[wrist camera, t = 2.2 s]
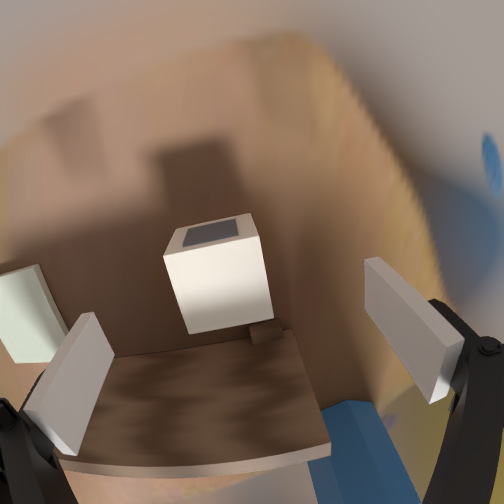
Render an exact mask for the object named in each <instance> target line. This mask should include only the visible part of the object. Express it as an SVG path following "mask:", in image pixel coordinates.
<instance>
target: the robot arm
mask: <svg viewBox="0 0 504 504" xmlns="http://www.w3.org/2000/svg"><path fill="white" fill-rule="evenodd" d="M364 273H365V310H366V312H367V313H368V315H369V316H370V317H371V319H372V320H373V322H374V323H375V324H376V326H377V327H378V329H379V330H380V331H381V333H382V334H383V336H384V337H385V339H386V340H387V341H388V343H389V344H390V346H391V347H392V349H393V350H394V352H395V353H396V355H397V356H398V357H399V359H400V360H401V362H402V363H403V365H404V366H405V368H406V369H407V371H408V372H409V374H410V375H411V377H412V378H413V380H414V381H415V383H416V384H417V386H418V387H419V389H420V390H421V392H422V394H423V395H424V397H425V398H426V400H427V401H428V403H429V404H430V403H432V402H435V401H437V400H439V399H441V398H443V397H445V396H446V395H447V392H448V389H449V387H450V386H451V387H452V388H453V390H454V391H455V394H454V396H453V399H452V401H451V403H450V406H449V408H448V410H450V414H449V419H448V423H447V428H446V431H445V435H444V439H443V443H442V446H441V450H440V454H439V457H438V460H437V463H436V466H435V469H434V472H433V475H432V478H431V481H430V484H429V486H428V489H427V492H426V494H425V497H424V499H423V502H422V504H489V503H490V498H491V495H492V491H493V486H494V481H495V477H496V472H497V466H498V461H499V455H500V448H501V440H502V432H503V427H504V344H501V342H500V341H498V340H497V339H495V338H493V337H489V336H483V337H479V336H478V335H477V334H476V333H475V332H474V331H473V330H472V329H471V328H470V327H469V326H468V325H467V324H466V323H465V322H464V321H463V320H462V319H461V318H459V317H458V315H457V314H456V313H455V312H453V310H451V309H450V308H449V307H448V306H447V305H446V304H445V303H443V302H441V301H439V300H436V299H432V300H429V301H427V300H426V299H425V298H424V297H423V296H421V295H420V294H419V293H418V292H417V291H416V290H415V289H414V288H413V287H412V286H411V285H410V284H409V283H408V282H407V281H406V280H404V279H403V278H402V277H401V276H400V275H399V274H398V273H397V272H396V271H395V270H394V269H392V268H391V267H390V266H389V265H388V264H387V263H386V262H385V261H384V260H382V259H381V258H380V257H379V256H377V257H373V258H369V259H364ZM114 356H115V354H114V352H113V350H112V348H111V346H110V344H109V343H108V341H107V339H106V337H105V335H104V333H103V331H102V328H101V326H100V324H99V322H98V320H97V318H96V316H95V314H94V312H88V313H82V314H81V315H80V317H79V318H78V320H77V321H76V323H75V324H74V326H73V327H72V329H71V330H70V332H69V333H68V335H67V336H66V338H65V339H64V341H63V342H62V344H61V345H60V347H59V349H58V350H57V352H56V353H55V355H54V357H53V358H52V360H51V361H50V363H49V365H48V366H47V368H46V369H45V370H44V371H43V372H42V373H41V374H40V375H39V376H38V378H37V380H36V382H35V383H34V386H33V387H32V388H31V390H30V391H31V392H29V394H28V395H27V397H26V399H25V401H24V403H23V404H22V406H21V408H20V410H19V412H17V411H16V410H15V409H14V407H13V406H12V405H11V404H10V402H9V401H8V400H7V399H5V398H0V504H78V502H77V500H76V498H75V496H74V494H73V492H72V489H71V487H70V485H69V483H68V481H67V478H66V476H65V474H64V472H63V469H62V467H61V464H60V462H59V459H58V457H57V455H56V454H55V453H54V452H53V449H54V447H55V446H56V447H57V448H58V449H59V450H60V451H61V452H62V453H63V454H67V455H74V456H77V455H78V452H79V449H80V446H81V443H82V440H83V437H84V434H85V431H86V428H87V425H88V422H89V420H90V417H91V414H92V411H93V409H94V406H95V403H96V401H97V398H98V395H99V393H100V390H101V388H102V385H103V382H104V380H105V377H106V375H107V372H108V370H109V368H110V365H111V363H112V360H113V358H114Z"/></svg>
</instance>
